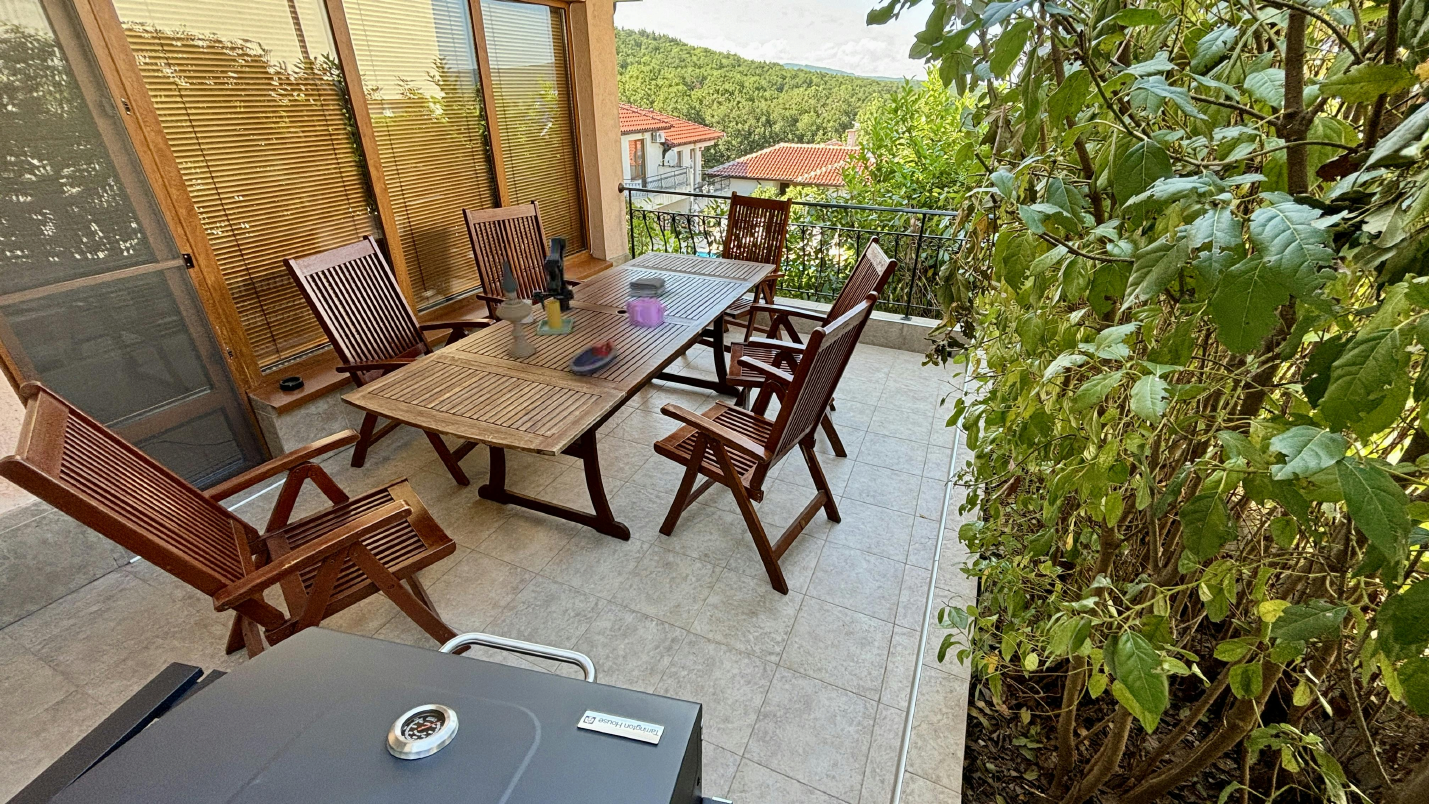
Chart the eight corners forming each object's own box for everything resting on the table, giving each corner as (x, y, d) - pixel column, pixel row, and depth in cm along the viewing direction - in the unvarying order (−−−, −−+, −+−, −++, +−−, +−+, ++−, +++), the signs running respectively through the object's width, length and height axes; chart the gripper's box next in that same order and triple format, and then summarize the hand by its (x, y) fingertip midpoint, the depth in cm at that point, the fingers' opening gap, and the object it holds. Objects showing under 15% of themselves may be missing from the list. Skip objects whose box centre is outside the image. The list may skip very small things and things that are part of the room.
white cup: (537, 318, 302) (534, 299, 298) (531, 324, 295) (528, 304, 291) (522, 318, 303) (518, 299, 298) (516, 323, 296) (512, 304, 291)
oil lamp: (496, 356, 258) (477, 265, 240) (518, 344, 271) (501, 256, 252) (526, 360, 254) (508, 267, 235) (546, 348, 266) (531, 258, 248)
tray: (542, 324, 295) (541, 319, 293) (573, 322, 296) (572, 317, 295) (537, 335, 281) (536, 330, 280) (569, 333, 282) (569, 328, 281)
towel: (659, 297, 329) (658, 283, 326) (627, 296, 333) (626, 282, 329) (666, 289, 342) (666, 276, 339) (636, 288, 346) (635, 275, 342)
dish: (559, 376, 239) (557, 364, 237) (598, 348, 264) (596, 337, 262) (593, 380, 234) (591, 369, 232) (629, 352, 260) (628, 341, 257)
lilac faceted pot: (625, 319, 297) (623, 295, 292) (657, 314, 303) (656, 291, 298) (635, 330, 283) (633, 305, 278) (669, 324, 289) (667, 300, 284)
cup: (561, 324, 292) (557, 298, 286) (564, 328, 287) (560, 302, 281) (547, 326, 290) (543, 300, 284) (550, 330, 284) (546, 304, 278)
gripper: (530, 274, 282) (530, 304, 278) (570, 272, 284) (570, 302, 279) (535, 286, 293) (535, 314, 288) (574, 284, 294) (574, 312, 290)
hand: (553, 310), depth 286 cm, fingers open, 9 cm apart
